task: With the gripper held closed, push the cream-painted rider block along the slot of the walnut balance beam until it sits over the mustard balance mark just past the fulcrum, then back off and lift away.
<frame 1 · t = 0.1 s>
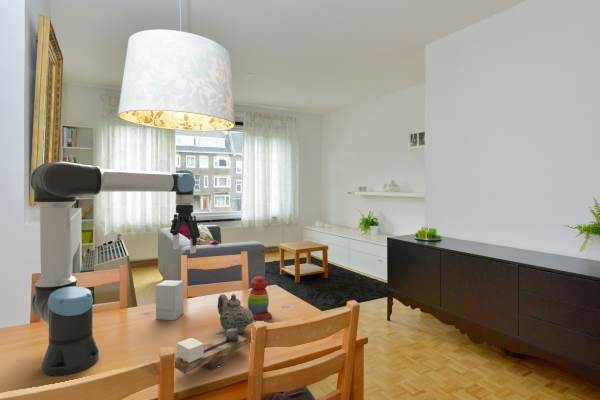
hand: (184, 250, 155), 28 cm above the table, fingers open, 13 cm apart
supplement box: (170, 316, 150), on the table
rider: (190, 352, 104), point 6 cm above the table, slide at -8.0 cm
beam: (211, 363, 111), on the table
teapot: (233, 331, 136), on the table
stacking bear: (258, 316, 152), on the table
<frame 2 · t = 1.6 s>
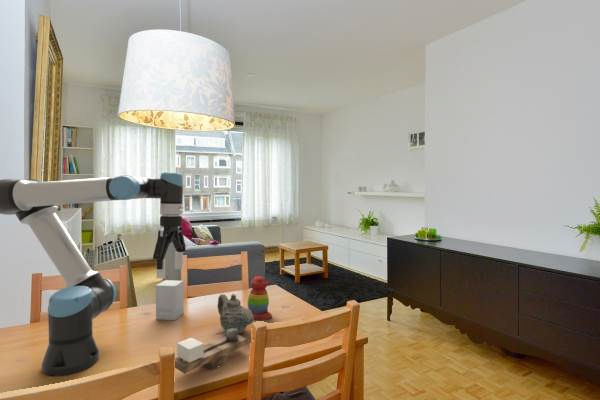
hand: (170, 273, 124), 26 cm above the table, fingers open, 13 cm apart
nothing on the table moved.
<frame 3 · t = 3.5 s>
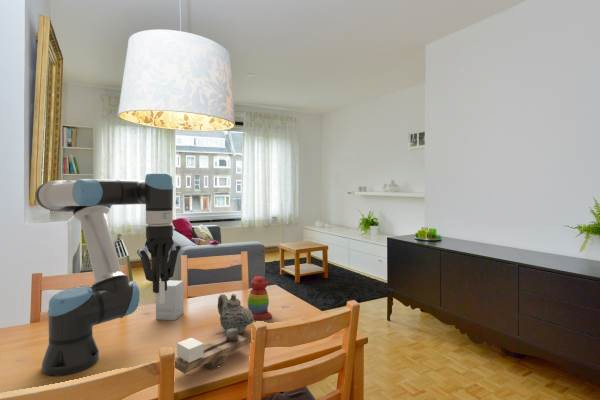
hand: (160, 302, 103), 22 cm above the table, fingers closed
nothing on the table moved.
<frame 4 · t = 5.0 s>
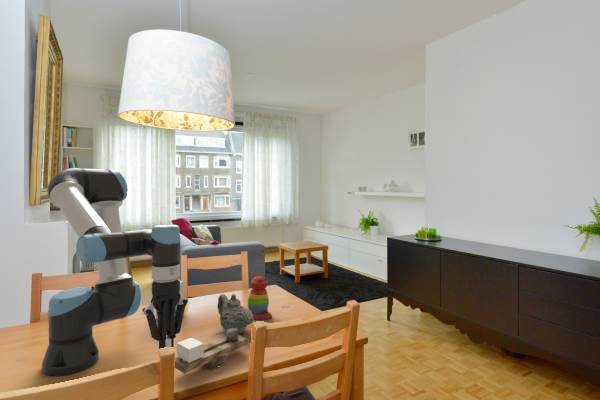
hand: (166, 360, 98), 7 cm above the table, fingers closed
nothing on the table moved.
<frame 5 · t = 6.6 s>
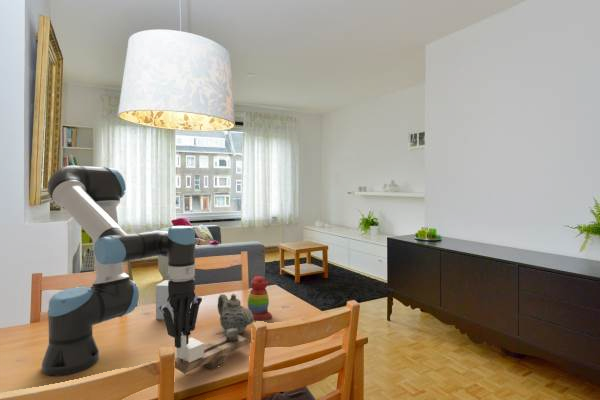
hand: (181, 356, 102), 7 cm above the table, fingers closed
rider: (190, 352, 104), point 6 cm above the table, slide at -7.9 cm, touching gripper
everything else where it was.
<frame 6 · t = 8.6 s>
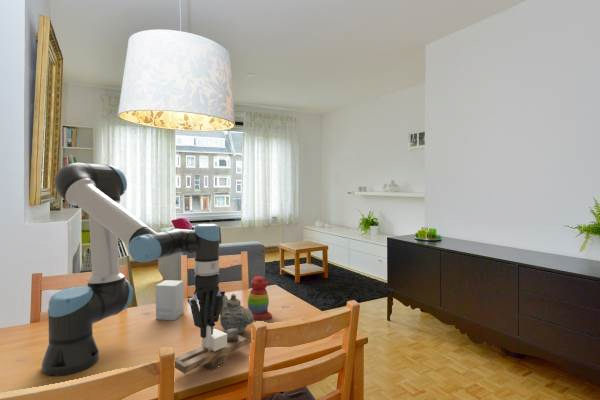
hand: (206, 346, 109), 6 cm above the table, fingers closed
rider: (214, 342, 111), point 6 cm above the table, slide at 1.2 cm, touching gripper
everything else where it was.
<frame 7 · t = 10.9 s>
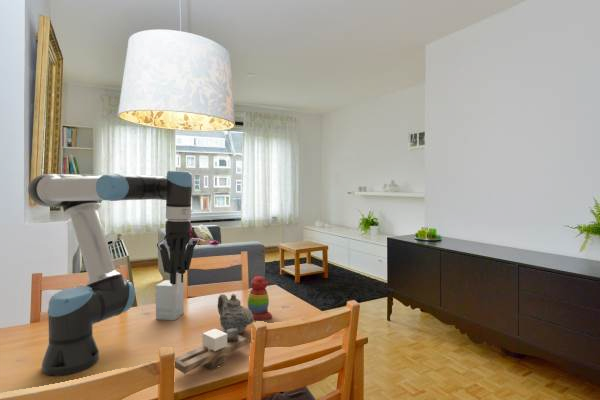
hand: (176, 293, 109), 23 cm above the table, fingers closed
rider: (214, 342, 111), point 6 cm above the table, slide at 1.2 cm
everything else where it was.
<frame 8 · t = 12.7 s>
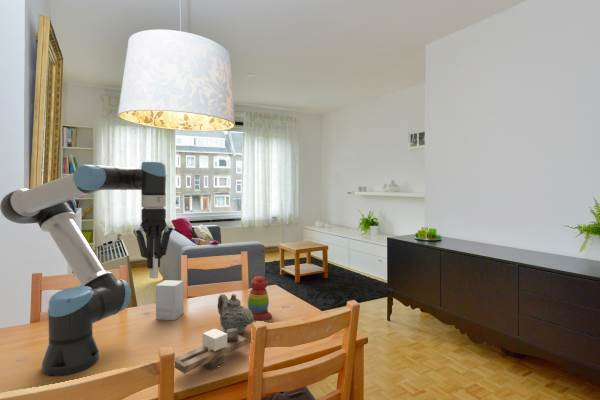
hand: (153, 277, 115), 26 cm above the table, fingers closed
nothing on the table moved.
at the end: rider slide at 1.2 cm; rider touching nothing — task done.
